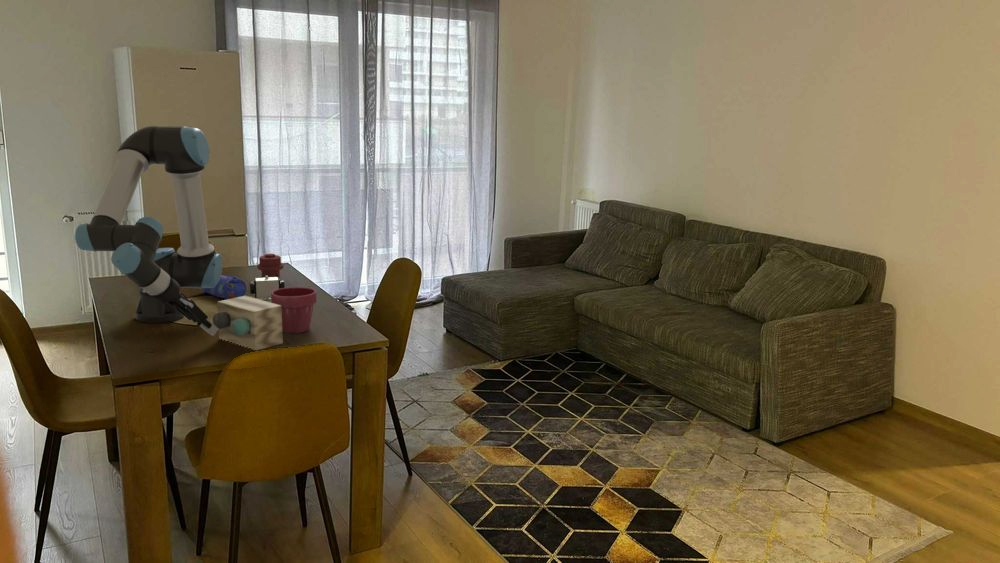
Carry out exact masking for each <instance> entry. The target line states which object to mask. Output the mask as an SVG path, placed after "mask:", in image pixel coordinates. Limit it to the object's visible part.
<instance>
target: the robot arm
mask: <svg viewBox="0 0 1000 563" xmlns="http://www.w3.org/2000/svg"><path fill="white" fill-rule="evenodd" d="M209 147H210V146H209V143H208V140H207V138H206V136H205V133H204V132H203V131H202V129H199V128H197V127H188V126H157V125H151V126H148V125H147V126H145V127H143V128H142V127H141V128H139V129H138V130H136V131H135V132H133V133H132V134H131V135H129V136H128V137H126V139H125V140H124V141H123V142H122V143H121V144H120V146H119V148H118V149H117V152H116V153H115V165H114V167H113V170H112V172H111V174H110V177H109V178H108V181H107V184H106V186H105V188H104V190H103V193H102V195H101V198H100V200H99V202H98V205H97V207H96V209H95V211H94V214H93V216H92V218H91V220H90V222H89V223H81V224H79V225H78V226H77V227H76V229H75V233H74V238H75V243H76V245H77V247H78V249H80V250H82V251H86V252H87V251H89V252H112V254H111V258H110V261H111V263H112V265H113V266H114V267H115V268H116V270H118V271H119V272H120V273H121V274H123V275H124V276H125V277H127V278H128V279H129V280H131V282H133V283H135V285H137V286H138V291H139V293H138V294H139V298H138V300H137V305H136V309H135V314H134V315H135V320H136V321H137V322H140V323H150V324H157V323H167V322H174V321H177V320H180V319H182V318H183V317H185V318H186V319H187V320H188V321H192V322H193V323H196V326H198V327H200V328H201V329H203V330H204V331H205V332H207V333H206V334H208V335H210V336H212V337H214V336H215V335H216V334H217V332H219V328H217V327H216V326H215V325H214V324H213V322H212V321H211V320H209V319H208V318H209V316H208V315H207V314H206V313H205V312H204V311H203V310H202V309H201V308H200V307H199V306H198V305H197V304H196V301H194V300H193V299H190V300H189V299H188V298H187V295H185V294H183V293H180V290H181V289H182V288H184V289H200V288H201V289H203V288H213V287H215V286H216V285H217V284H218V282H219V280H220V277H221V274H222V272H223V257H222V255H221V254H220V253H218V252H217V253H216V250H215V247H214V245H213V244H211V243H210V242H209V233H208V226H207V218H206V210H205V204H204V203H205V202H204V194H203V187H202V178H201V173H203V172H204V170H205V166H207V165H208V163H209V161H210V148H209ZM150 165H163V166H164V170H165V173H166V174H168V175H169V176H170V177H171V184H172V190H173V198H174V204H175V212H176V219H177V224H178V225H177V226H178V232H179V233H178V234H179V238H180V240H179V241H180V246H179V247H178V248H177V250H175V248H174V247H159V245H160V244H161V242H162V237H163V234H164V226H163V224H162V222H160V220H158V219H156V218H154V217H151V216H143V217H141V218H139V219H137V221H136V222H135V224H123V221H124V218H125V217H126V213H127V211H128V210H129V206H130V204H131V201H132V198H133V196H134V194H135V191H136V189H137V187H138V184H139V182H140V179H141V177H142V174H143V173H145V172H147V170H148V169H149V166H150ZM201 289H200V290H201ZM181 317H182V318H181ZM179 318H180V319H179ZM173 320H174V321H173Z"/></svg>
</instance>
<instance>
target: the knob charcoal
mask: <svg viewBox="0 0 1000 563" xmlns="http://www.w3.org/2000/svg"><path fill="white" fill-rule="evenodd" d="M212 316H213V317H212V323H213V324H214V325H215V326H216V327H217V328H219V329H222V328H226V327H229V326H230V324H231V319H230V315H229V314H228V313H227V312H222V313H218V312H217V313H215V314H213V315H212Z"/></svg>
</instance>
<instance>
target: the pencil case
mask: <svg viewBox="0 0 1000 563" xmlns="http://www.w3.org/2000/svg"><path fill="white" fill-rule="evenodd" d="M199 289H200V290H201V291H203V292H204V293H206V294H209V295H210V296H214V297H216V298H220V299H224V300H227V299H232V298H237V297H241V296H246V294H247V293H246V292H247V284H246V283H245V281H244V280H243V279H241V278H239V277H237V276H236V275H225V274H222V273H221V277H220V280H219V282H218V284H217V285H216V286H215V287H213V288H203V289H201V288H199Z"/></svg>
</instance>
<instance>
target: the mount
mask: <svg viewBox="0 0 1000 563" xmlns="http://www.w3.org/2000/svg"><path fill="white" fill-rule="evenodd" d="M216 302H217V304H216V305H217V313H222V312H227V313H228V314H229V315H230V319H231V324H230V326H229V327H226V328H222V329H219V330H218V336H219V340H221V339H222V340H221V341H224V340H225V342H227V341H229V342H228V343H231V342H232V343H231V344H234V343H235V344H234V345H237V344H238V345H237V346H240V345H241V347H243V346H244V347H243V348H246V347H248V348H247V349H249V348H251V349H250V350H252V349H253V350H252V351H255V350H256V351H260V350H264V349H266V348H270V347H273V346H277V345H281V344H284V341H283V339H284V337H283V331H282V308H281V305H278V304H274V303H270V302H267V301H263V300H262V299H260V298H255V297H251V296H247V295H244V296H241V297H237V298H232V299H224V300H223V299H222V300H218V301H216ZM242 318H246V319H247V320H248V321H250V332H249V333H248V334H244V335H240V336H237V335H235V334H234V332H233V330H232V322H233V321H234V320H237V319H242Z"/></svg>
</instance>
